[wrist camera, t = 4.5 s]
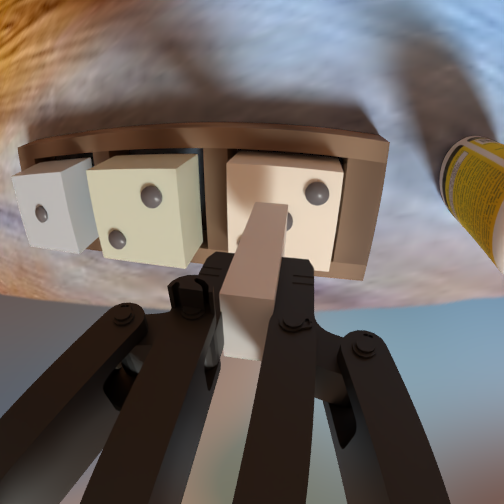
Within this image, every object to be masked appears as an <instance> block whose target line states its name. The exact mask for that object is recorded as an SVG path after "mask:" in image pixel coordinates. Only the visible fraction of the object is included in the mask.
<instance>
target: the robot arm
mask: <svg viewBox="0 0 504 504" xmlns="http://www.w3.org/2000/svg"><path fill="white" fill-rule="evenodd" d="M287 216H288V204H277V203H264V202H255V204H254V207H253V209H252V212H251V214H250V217H249V219H248V222H247V224H246V227H245V229H244V232H243V234H242V237H241V239H240V242H239V244H238V247H237V249H236V252H235V253H227V252H217V251H216V252H214V253H213V254H212V255H210V256H209V257H208V258H207V259H206V261H205V263H204V265H203V268H201V270H200V272H199V275H186V276H182V277H179V278H177V279H175V280H173V281H172V282H171V283H170V284H169V285H168V286H167V287H168V292H169V297H170V302H171V307H172V309H171V311H169V312H166V313H160V314H145V313H144V311H143V309H142V307H140V306H139V305H137V304H134V303H121V304H119V305H116V306H114V307H112V308H111V309H109V310H108V311H107V312H106V313H105V314H104V315H103V316H102V317H101V318H100V319H98V320H97V321H96V322H95V323H94V324H93V325H92V326H91V327H90V328H89V329H88V330H87V331H86V332H85V333H84V334H83V335H82V336H81V337H79V338H78V339H77V341H75V342H74V343H73V344H72V345H71V346H70V347H69V348H68V349H67V350H66V351H65V352H64V353H63V354H62V355H61V356H60V357H59V358H58V359H57V360H56V361H55V362H54V363H53V364H52V365H51V366H50V367H49V368H48V369H47V370H46V371H45V372H44V373H43V374H42V375H41V376H40V377H39V378H38V379H37V380H36V381H35V382H34V383H33V384H32V385H31V386H30V387H29V388H28V389H27V390H26V392H25V393H24V394H23V395H22V396H21V397H20V398H19V399H18V400H17V401H16V402H15V403H14V404H13V405H12V406H11V407H10V409H9V410H8V411H7V412H6V413H5V414H4V415H3V416H2V417H1V418H0V504H59V503H60V502H61V501H62V500H63V498H64V497H65V496H66V495H67V493H68V492H69V491H70V490H71V488H72V487H73V486H74V484H75V483H76V482H77V481H78V480H79V478H80V477H81V476H82V475H83V473H84V472H85V471H86V469H87V468H88V467H89V466H90V464H91V463H92V462H93V461H94V459H95V458H96V457H97V456H98V454H99V453H100V452H101V451H102V449H103V451H102V453H101V455H100V457H99V459H98V462H97V464H96V466H95V469H94V471H93V473H92V476H91V478H90V480H89V483H88V485H87V488H86V490H85V492H84V495H83V497H82V500H81V502H80V504H181V502H182V499H183V495H184V492H185V488H186V485H187V482H188V478H189V475H190V471H191V468H192V464H193V461H194V458H195V454H196V451H197V447H198V444H199V441H200V437H201V434H202V431H203V427H204V423H205V420H206V417H207V413H208V410H209V407H210V403H211V400H212V396H213V393H214V390H215V386H216V383H217V379H218V376H219V372H220V367H221V362H220V356H221V353H222V350H223V349H224V356H228V357H235V358H242V359H250V360H257V361H262V363H261V368H260V373H259V378H258V383H257V389H256V394H255V399H254V404H253V409H252V414H251V419H250V424H249V429H248V434H247V439H246V444H245V448H244V453H243V458H242V462H241V467H240V471H239V476H238V481H237V486H236V489H235V494H234V498H233V502H232V504H306V495H307V487H308V476H309V466H310V455H311V443H312V429H313V413H314V397H315V398H318V399H321V400H323V404H324V408H325V412H326V416H327V420H328V424H329V428H330V432H331V436H332V440H333V444H334V448H335V452H336V456H337V460H338V465H339V468H340V473H341V477H342V482H343V486H344V490H345V495H346V499H347V504H450V500H449V497H448V494H447V491H446V488H445V485H444V482H443V479H442V476H441V473H440V471H439V468H438V465H437V462H436V460H435V457H434V454H433V452H432V449H431V446H430V444H429V441H428V439H427V436H426V434H425V431H424V429H423V426H422V424H421V421H420V419H419V416H418V414H417V412H416V409H415V407H414V405H413V402H412V400H411V398H410V395H409V393H408V391H407V389H406V386H405V384H404V382H403V380H402V378H401V375H400V373H399V371H398V369H397V367H396V365H395V362H394V360H393V358H392V356H391V354H390V352H389V350H388V348H387V346H386V344H385V343H384V341H383V340H382V339H381V338H380V337H379V336H377V335H376V334H374V333H371V332H368V331H362V330H361V331H360V330H357V331H353V332H350V333H348V334H347V335H346V336H345V337H340V336H337V335H334V334H332V333H330V332H327V331H325V330H324V329H323V328H321V327H320V326H319V324H317V322H316V320H315V316H314V267H313V266H312V264H311V263H310V261H309V260H308V259H299V258H289V257H284V256H285V243H286V230H287Z"/></svg>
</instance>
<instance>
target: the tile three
mask: <svg viewBox="0 0 504 504" xmlns="http://www.w3.org/2000/svg"><path fill="white" fill-rule="evenodd" d="M226 170H227V220H228V253H235V252H236V249H237V247H238V244H239V242H240V239H241V237H242V234H243V232H244V229H245V227H246V224H247V222H248V219H249V217H250V214H251V212H252V209H253V207H254V204H255V202H264V203H277V204H288V216H287V230H286V243H285V256H284V257H289V258H299V259H308V260H309V261H310V263H311V264H312V266H313V267H314V270H315V271H325V272H329V268H330V262H331V257H332V251H333V245H334V239H335V232H336V226H337V219H338V212H339V205H340V198H341V190H342V182H343V174H344V172H343V170H342V167H341V165H340V162H339V160H338V158H333V157H324V156H314V155H304V154H292V153H279V152H264V151H244V150H240V151H239V152H238V153H237V154H236V155H234V156H233V157H232V158H231V159H230V160H229V161H228V162H227V163H226Z"/></svg>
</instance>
